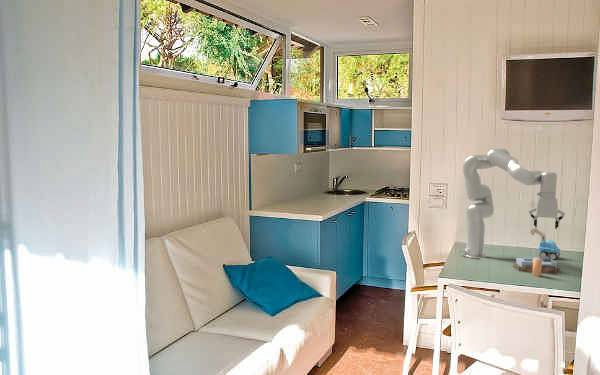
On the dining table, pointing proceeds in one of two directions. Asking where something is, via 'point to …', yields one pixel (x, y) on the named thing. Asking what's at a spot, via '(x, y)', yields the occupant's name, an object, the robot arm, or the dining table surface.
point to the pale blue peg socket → (529, 262)
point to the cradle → (543, 269)
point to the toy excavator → (546, 245)
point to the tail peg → (537, 267)
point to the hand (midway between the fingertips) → (545, 227)
